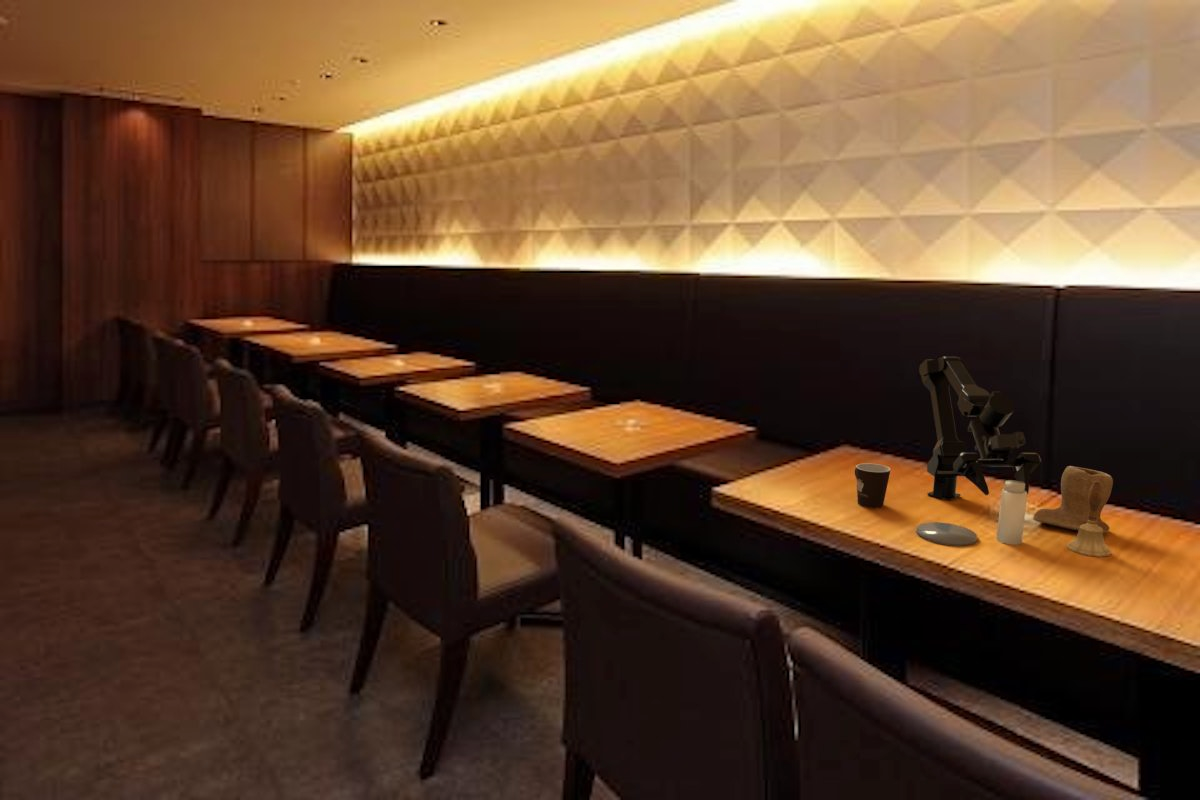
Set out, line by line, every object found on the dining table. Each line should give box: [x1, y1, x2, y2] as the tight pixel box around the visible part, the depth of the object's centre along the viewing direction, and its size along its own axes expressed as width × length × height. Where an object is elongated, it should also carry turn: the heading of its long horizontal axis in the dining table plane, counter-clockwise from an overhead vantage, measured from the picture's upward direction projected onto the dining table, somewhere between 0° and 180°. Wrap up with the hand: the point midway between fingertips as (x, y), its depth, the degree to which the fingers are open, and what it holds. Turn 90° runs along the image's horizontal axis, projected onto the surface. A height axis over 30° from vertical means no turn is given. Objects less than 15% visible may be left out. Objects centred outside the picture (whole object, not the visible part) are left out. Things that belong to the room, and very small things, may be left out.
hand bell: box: [1067, 481, 1112, 558], centre depth 175 cm, size 8×8×16 cm
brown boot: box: [1033, 465, 1114, 534], centre depth 190 cm, size 15×12×15 cm
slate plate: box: [915, 521, 978, 547], centre depth 185 cm, size 13×13×1 cm
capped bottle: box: [995, 479, 1028, 546], centre depth 180 cm, size 5×5×14 cm
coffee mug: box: [854, 462, 891, 509], centre depth 208 cm, size 12×9×10 cm
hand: (1007, 494), depth 183 cm, fingers open, 9 cm apart
